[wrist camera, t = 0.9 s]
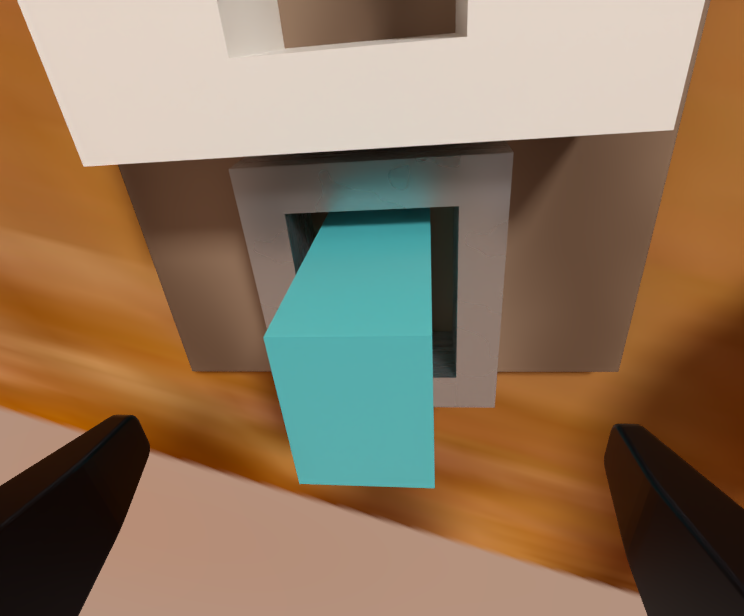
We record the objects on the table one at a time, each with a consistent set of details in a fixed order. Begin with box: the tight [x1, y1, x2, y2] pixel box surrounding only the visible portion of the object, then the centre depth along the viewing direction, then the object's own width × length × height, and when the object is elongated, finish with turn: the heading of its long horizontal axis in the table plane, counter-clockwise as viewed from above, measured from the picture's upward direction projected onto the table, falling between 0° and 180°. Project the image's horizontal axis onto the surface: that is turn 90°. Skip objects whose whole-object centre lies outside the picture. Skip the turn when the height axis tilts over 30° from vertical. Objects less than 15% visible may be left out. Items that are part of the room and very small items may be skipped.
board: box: [118, 0, 710, 372], centre depth 13 cm, size 16×18×1 cm
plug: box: [263, 207, 435, 488], centre depth 12 cm, size 3×4×7 cm
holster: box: [228, 140, 514, 408], centre depth 14 cm, size 7×8×2 cm
